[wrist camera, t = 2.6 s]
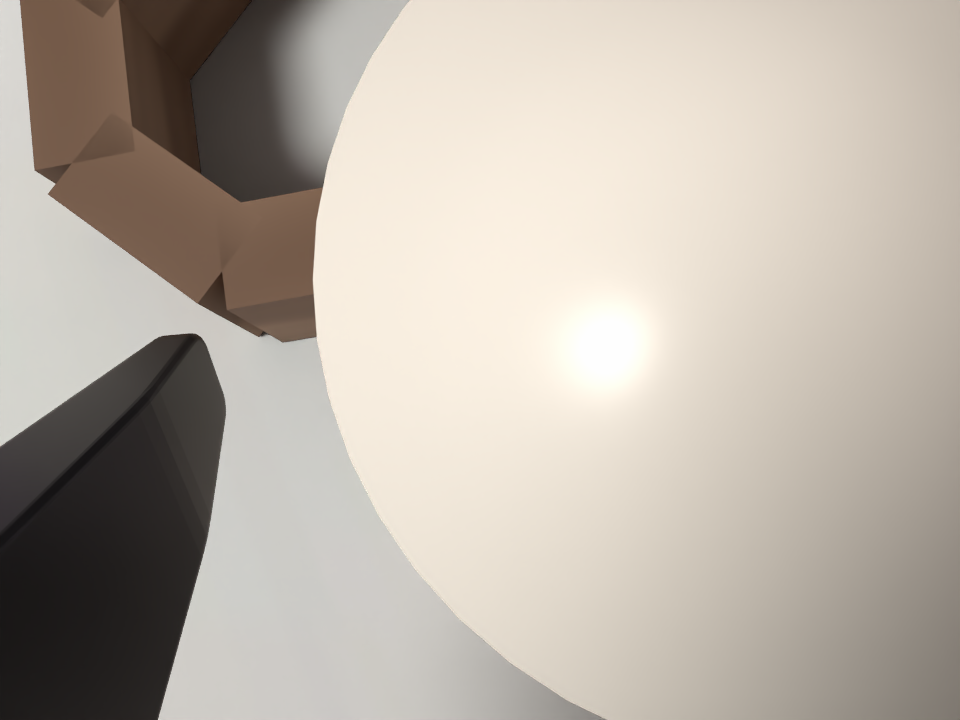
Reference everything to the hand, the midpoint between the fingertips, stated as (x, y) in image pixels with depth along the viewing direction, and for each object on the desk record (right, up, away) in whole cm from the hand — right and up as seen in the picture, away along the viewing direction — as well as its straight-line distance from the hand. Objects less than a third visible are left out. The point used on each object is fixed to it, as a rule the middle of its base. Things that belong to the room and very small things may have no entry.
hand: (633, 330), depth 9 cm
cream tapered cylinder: (0, -2, +7) cm, 7 cm away
